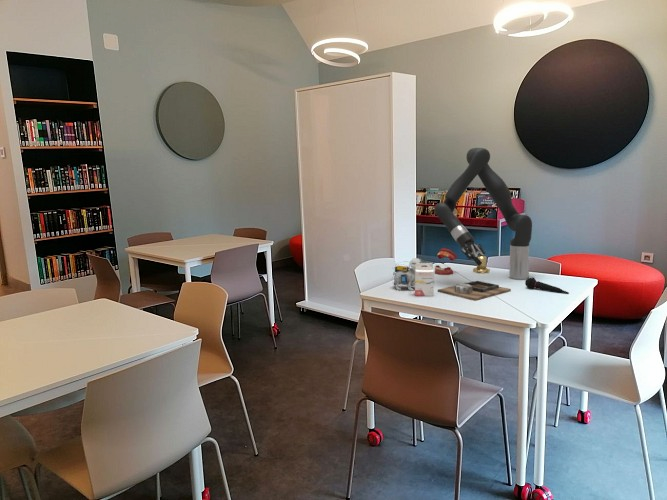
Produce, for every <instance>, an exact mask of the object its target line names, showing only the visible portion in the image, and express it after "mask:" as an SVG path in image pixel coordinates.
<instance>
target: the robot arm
mask: <svg viewBox="0 0 667 500" xmlns="http://www.w3.org/2000/svg"><path fill="white" fill-rule="evenodd" d="M490 160H491V153H490V151H489V150H488V149H487V148H483V147H474V148H473V147H472V148H470V149H469V150H468V151H467V153H466V162H467V163H468V166H467V167H466V169H465V170H464V171H463V172H462V173H461V174H460V176H459V177H457V179H456V180H454V181H453V183H452V184H451V186H450V187H449V188H448V190H447V191H446V193H445V195H444V198H445V199H444V201H443V202H438V203H437V204H436V205H435V206H434V214H435V215H436V216H437V218H438V219H439V220H440V221H441V222H442V223H443V225H444V226H445V228H446V229H447V230H448V232H449V233H450V234H451V236H452V238H453V239H454V240H455V242H456V244H457V245H458V246H459V247H460V248H461V250H460V251H461V253H462V254H463V255H465V256H466V257H467V259H469V260H472V261H474V262H475V264H476V266H477V265H478V266H480V265H481V264H482V262H481V261H480V260H479V258H478V257H477V256H485V255H486V251H484V248H483V247H482V245H481V244H476V243H475V242H474V241H475V238H474V237H473V235H472V234H471V233H470V231H469V230H468V229H467V228H466V226H464V225H463V223H462V222H461V221H460V220H459V218H458V217H456V215H455V214H454V213H453V212H454V211H455V208H456V206H457V203H458V202H459V200H460V199H461V197H462V196H463V194H464V193H465V191H467V189H468V187H469V185H470V184H471V183H472V182H473V181H474V179H475V178H476V177H477V176H478V177H479V179H480V181H481V182H482V184H483V186H484V188H485V189H486V191H487V193H488V195H490V197H491V199H492V200H493V202H494V203H495V205H496V207H497V208H498V209H499V211H500V213H501V214H502V216H503V218H504V220H505V222H506V225H507V227H508V228H509V229H510V231H513V232H515V233H514V237H513V238H512V239H511V240H510V241H509V242H510V243H509V271H508V273H509V274H508V277H509V279H512V280H527V279H528V278H530V259H529V258H530V242H531V240H532V231H533V222H532V219H531V217H530V216H529V215H527V214H521V213H519V212H518V210H517V209H516V207H515V206H514V204H513V199H512V193H511V190H510V188H509V187H508V186H507V184H506V182H505V181H504V180H503V178H501V177H500V176H499V175H498V174H497V173H496V172H495V171H494V170H493V169H492V168H491V167H490V164H489V162H490ZM488 262H489V261H488V260H487V261H486V264H487V263H488Z"/></svg>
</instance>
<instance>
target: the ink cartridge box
mask: <svg viewBox="0 0 667 500" xmlns="http://www.w3.org/2000/svg"><path fill="white" fill-rule="evenodd" d="M421 266H427V267H421ZM433 267H434V263H433V262H431V263H430V262H429V263H428V262H426V263H416V269H415V286H414V295H415V296H416V297H434V296H435V294H434V293H435V270H434V268H433Z"/></svg>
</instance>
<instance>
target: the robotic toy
mask: <svg viewBox="0 0 667 500" xmlns="http://www.w3.org/2000/svg"><path fill="white" fill-rule="evenodd" d="M405 262H406V263H408V262H409V264H408V265H403V264H400V263H397V265H395V267H392V269H393V270H394V272H393V273H392V275H393V276H392V278H391V279H393V280H394V281H393V285H394V287H395V289H396V291H402V288H401V287H403V286H407V288H408V290H409V291H410V292H413V291H414V288H412V287H413V286H414V287H415V269H416V263H427V260H423V259H421V258H418V257H415V258H412V259H411V260H410V261H406V260H405V261H404V260H403V263H405ZM421 267H427V266H425V265H423V266H421ZM399 286H401V287H399Z"/></svg>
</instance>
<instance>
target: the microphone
mask: <svg viewBox="0 0 667 500" xmlns="http://www.w3.org/2000/svg"><path fill="white" fill-rule="evenodd" d="M524 284H525V286H526V287H527V288H528V289H530V290H531V289H534V288H535V289H538V290H541V291H547V292H552V293H557V294H558V293H559V294H569V293H570V292H568V291H566V290H564V289H562V288H560V287H557V286H555V285H551V284H548V283H545V282H542V281H540V280H539V281H538V280H536V278H535V277H528V278H527V279H525V283H524Z"/></svg>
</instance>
